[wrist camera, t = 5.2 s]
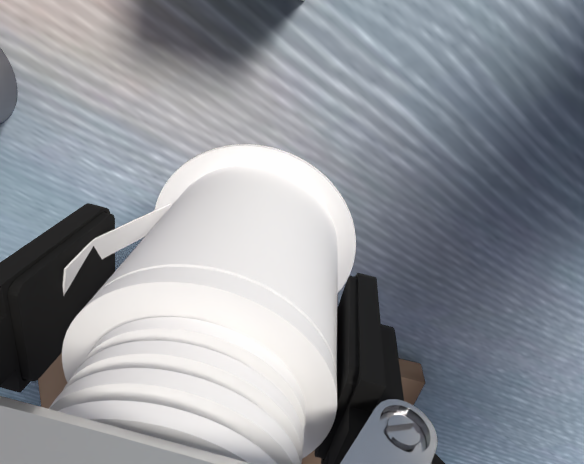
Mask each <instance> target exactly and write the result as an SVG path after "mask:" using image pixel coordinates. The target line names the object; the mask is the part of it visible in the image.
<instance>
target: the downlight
mask: <svg viewBox="0 0 584 464" xmlns="http://www.w3.org/2000/svg"><path fill="white" fill-rule="evenodd" d="M143 237H144V238H143ZM141 238H143V240H142V241H141V242H140V243H139V244H138V245H137V247H136V248H135V249H134V250H133V251H132V252H131V254H130V255H129V256H128V257H127V258H126V259H125V261H124V262H123V263H122V264H121V265H120V266H119V267H118V269H117V270H116V271H115V272H114V273H113V274H112V276H111V277H110V278H109V279H108V280H107V281H106V283H105V284H104V285H103V286H102V287H101V288H100V289H99V291H98V292H97V293H96V294H95V295H94V296H93V298H92V299H91V300H90V301H89V302H88V303H87V304H86V306H85V307H84V308H83V309H82V310H81V311H80V312H79V313H78V315H77V316H76V317H75V319H74V320H73V321H72V323H71V324H70V326H69V328H68V330H67V332H66V335H65V338H64V341H63V347H62V365H63V370H64V374H65V378H66V381H67V384H66V386H65V387H64V389H63V391H62V392H61V393H60V394H59V395H58V397H57V398H56V399H55V400H54V402H53V403H52V405H51V406H50V407H49V409H51V410H55V411H59V412H63V413H66V414H70V415H74V416H78V417H81V418H85V419H89V420H93V421H96V422H100V423H104V424H107V425H111V426H115V427H119V428H122V429H126V430H130V431H133V432H137V433H141V434H145V435H148V436H152V437H156V438H160V439H163V440H167V441H171V442H174V443H178V444H182V445H185V446H189V447H192V448H196V449H200V450H203V451H207V452H211V453H214V454H218V455H222V456H225V457H229V458H233V459H236V460H240V461H244V462H247V463H251V464H301V463H302V458H304V457H306V456H307V455H309V454H310V453H311V452H313V451H314V450H315V449H316V448H317V447H318V446H319V445H320V444H321V443H322V442H323V440H324V439H325V438H326V436H327V435H328V433H329V431H330V430H331V428H332V425H333V423H334V420H335V416H336V411H337V294H338V292H339V291H340V290H341V289H342V287H343V286H344V284H345V282H346V281H347V279H348V277H349V275H350V273H351V270H352V267H353V263H354V259H355V252H356V235H355V227H354V223H353V219H352V216H351V213H350V211H349V208H348V206H347V204H346V202H345V200H344V199H343V197H342V195H341V194H340V192H339V191H338V190H337V188H336V187H335V186H334V185H333V183H332V182H331V181H330V180H329V179H328V178H327V177H326V176H325V175H324V174H323V173H321V172H320V171H319V170H318V169H317V168H315V167H314V166H312V165H311V164H309V163H308V162H306V161H304V160H303V159H301V158H299V157H297V156H295V155H293V154H291V153H288V152H285V151H282V150H280V149H276V148H272V147H268V146H262V145H253V144H237V145H228V146H222V147H218V148H215V149H211V150H209V151H206V152H203V153H201V154H199V155H197V156H195V157H194V158H192V159H191V160H189V161H188V162H186V163H185V164H184V165H182V166H181V167H180V168H179V169H178V170H177V171H176V172H175V173H174V174H173V175H172V176H171V177H170V178H169V180H168V181H167V183H166V184H165V185H164V187H163V189H162V191H161V193H160V195H159V197H158V200H157V203H156V206H155V210H154V211H153V212H151V213H149V214H146V215H144V216H142V217H140V218H138V219H136V220H133V221H131V222H129V223H127V224H125V225H123V226H120V227H118V228H116V229H114V230H112V231H110V232H107V233H105V234H103V235H101V236H99V237H96V238H95V239H93V240H92V241H91V242H90V243H89V244H88V245H87V246H86V247H85V248H84V249H83V250H82V251H81V252H80V253H79V254H78V255H77V256H76V257H75V258H74V259H73V260H72V261H71V262H70V263H69V264H68V265H67V266H66V267H65V268H64V276H63V294H64V295H65V293H66V291H67V290H68V288H69V286H70V285H71V283H72V281H73V280H74V278H75V276H76V274H77V273H78V271H79V269H80V268H81V266H82V264H83V263H84V261H85V259H86V258H87V256H88V254H89V252H90V251H91V249H92V247H93V246H94V247H95V249H96V250H97V252H98V254H99V255H100V257H101V259H103V258H105V257H107V256H109V255H111V254H113V253H115V252H117V251H119V250H121V249H122V248H124V247H126V246H128V245H130V244H132V243H134V242H136V241H138V240H140V239H141Z"/></svg>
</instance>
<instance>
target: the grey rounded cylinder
mask: <svg viewBox="0 0 584 464" xmlns="http://www.w3.org/2000/svg"><path fill="white" fill-rule="evenodd" d="M16 102H17V83H16V78H15V75H14V72H13V69H12V67H11V64H10V62H9V60H8V58H7V57H6V55H5V54H4V52H3V51H2V49H1V48H0V123H3V122H4V121H5V120H7V119H8V118H9V117H10V116H11V114H12V112H13V111H14V108H15V106H16Z"/></svg>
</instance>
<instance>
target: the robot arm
mask: <svg viewBox="0 0 584 464" xmlns="http://www.w3.org/2000/svg"><path fill="white" fill-rule="evenodd" d="M114 229H115V218H114V215H112V214H110V211H109V209H107V208H105V207H101V206H97V205H93V204H85V205H84V206H82V207H81V208H79V209H78V210H76V211H75V212H74V213H72V214H71V215H69V216H68V217H66V218H65V219H63V220H62V221H60V222H59V223H57V224H56V225H55V226H53V227H52V228H50V229H49V230H47V231H46V232H44V233H43V234H41V235H40V236H38V237H37V238H35V239H34V240H33V241H31V242H30V243H28V244H27V245H25V246H24V247H22V248H21V249H19V250H18V251H16V252H15V253H14V254H12V255H11V256H9V257H8V258H6V259H5V260H3V261H2V262H0V387H2V388H6V389H9V390H13V391H17V392H21V391H22V390H23V389H24V388H25V387H26V386H27V385H28V383H29V382H30V381H36V380H38V379H39V378H40V377H41V376H42V375H43V374H44V372H45V371H46V370H47V369H48V368H49V367H50V366H51V364H52V363H53V362H54V361H55V360H56V359H57V358H58V356H59V355H60V354H61V353H62V347H63V341H64V338H65V335H66V332H67V330H68V328H69V326H70V324H71V323H72V321H73V320H74V319H75V317H76V316H77V315H78V313H79V312H80V311H81V310H82V309H83V308H84V307H85V306H86V304H87V303H88V302H89V301H90V300H91V299H92V298H93V296H94V295H95V294H96V293H97V292H98V291H99V289H100V288H101V287H102V286H103V285H104V284H105V283H106V281H107V280H108V279H109V278H110V277H111V276H112V274H113V273H114V272H115V253H113V254H111V255H109V256H107V257H105V258H103V259H101V257H100V255H99V254H98V252H97V250H96V249H95V247H94V246H93V247H92V249H91V251H90V252H89V254H88V256H87V258H86V259H85V261H84V263H83V264H82V266H81V268H80V269H79V271H78V273H77V274H76V276H75V278H74V280H73V281H72V283H71V285H70V286H69V288H68V290H67V291H66V293H65V295H64V294H63V276H64V268H65V267H66V266H67V265H68V264H69V263H70V262H71V261H72V260H73V259H74V258H75V257H76V256H77V255H78V254H79V253H80V252H81V251H82V250H83V249H84V248H85V247H86V246H87V245H88V244H89V243H90V242H91V241H92V240H93V239H95V238H96V237H99V236H101V235H103V234H105V233H107V232H110V231H112V230H114ZM437 442H438V440H437V435H436V431H435V429H434V427H433V425H432V423H431V421H430V420H429V419H428V418H427V416H426V415H425V414H424V413H423V412H422V411H420V410H419V409H418V408H417V407H415V406H413V405H412V404H410V403H408V402H405V401H404V396H403V388H402V381H401V373H400V366H399V358H398V351H397V343H396V336H395V330H394V328H393V327H389V326H386V325H382V324H380V313H379V302H378V290H377V279H376V277H372V276H368V275H364V274H361V273H357V274H356V276H355V277H353V276H349V277H348V280H347V283H346V286H345V288H344V291H343V294H342V297H341V300H340V303H339V306H338V308H337V411H336V416H335V420H334V423H333V425H332V428H331V430H330V431H329V433H328V435H327V436H326V438H325V439H324V440H323V442H322V443H321V444H320V445H319V446H318V447H317V448H316V449H315V453H314V454H315V457H318V458H321V464H445V463H444V462H443V461H442V460H441V459H440V458H439V457H438V456H437V455H436V454H435V452H436V448H437ZM0 464H251V463H247V462H244V461H240V460H236V459H233V458H229V457H225V456H222V455H218V454H214V453H211V452H207V451H203V450H200V449H196V448H192V447H189V446H185V445H182V444H178V443H174V442H171V441H167V440H163V439H160V438H156V437H152V436H148V435H145V434H141V433H137V432H133V431H130V430H126V429H122V428H119V427H115V426H111V425H107V424H104V423H100V422H96V421H93V420H89V419H85V418H81V417H78V416H74V415H70V414H66V413H63V412H59V411H55V410H51V409H48V408H44V407H40V406H36V405H32V404H29V403H25V402H21V401H17V400H13V399H9V398H6V397H2V396H0Z"/></svg>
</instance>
